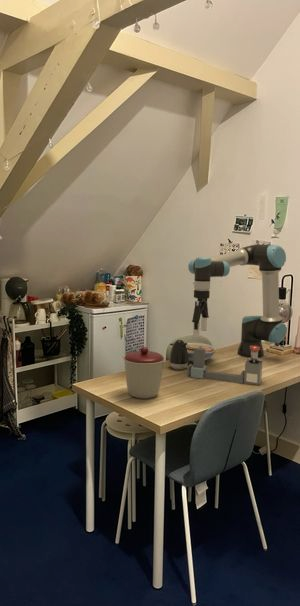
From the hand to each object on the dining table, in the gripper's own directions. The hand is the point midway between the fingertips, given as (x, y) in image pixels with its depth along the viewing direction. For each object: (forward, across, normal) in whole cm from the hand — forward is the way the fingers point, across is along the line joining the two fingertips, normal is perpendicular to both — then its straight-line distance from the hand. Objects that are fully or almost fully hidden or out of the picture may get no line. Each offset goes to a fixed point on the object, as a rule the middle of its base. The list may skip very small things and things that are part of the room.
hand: (199, 333), depth 217 cm
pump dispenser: (+22, -9, -13) cm, 27 cm away
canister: (+22, +35, -15) cm, 44 cm away
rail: (+22, 0, +9) cm, 23 cm away
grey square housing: (+22, -3, +26) cm, 34 cm away
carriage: (+22, 0, 0) cm, 22 cm away
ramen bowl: (+22, -27, -9) cm, 36 cm away
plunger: (+11, -3, +26) cm, 29 cm away
